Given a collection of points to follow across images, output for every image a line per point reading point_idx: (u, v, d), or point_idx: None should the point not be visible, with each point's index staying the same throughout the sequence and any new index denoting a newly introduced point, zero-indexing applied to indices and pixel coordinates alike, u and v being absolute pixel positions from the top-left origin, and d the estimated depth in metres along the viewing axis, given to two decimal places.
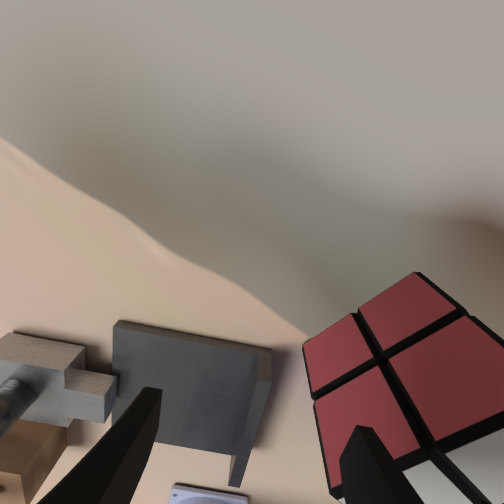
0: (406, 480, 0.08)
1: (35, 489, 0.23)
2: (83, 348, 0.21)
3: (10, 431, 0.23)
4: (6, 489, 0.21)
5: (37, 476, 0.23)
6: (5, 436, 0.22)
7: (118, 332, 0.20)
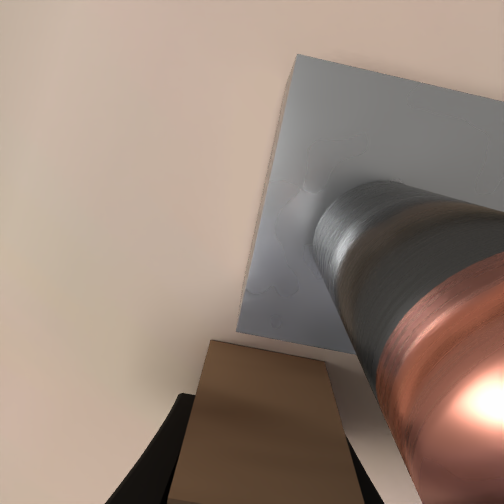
0: (364, 473, 0.08)
1: None
2: None
3: (243, 397, 0.08)
4: None
5: None
6: (239, 409, 0.08)
7: None
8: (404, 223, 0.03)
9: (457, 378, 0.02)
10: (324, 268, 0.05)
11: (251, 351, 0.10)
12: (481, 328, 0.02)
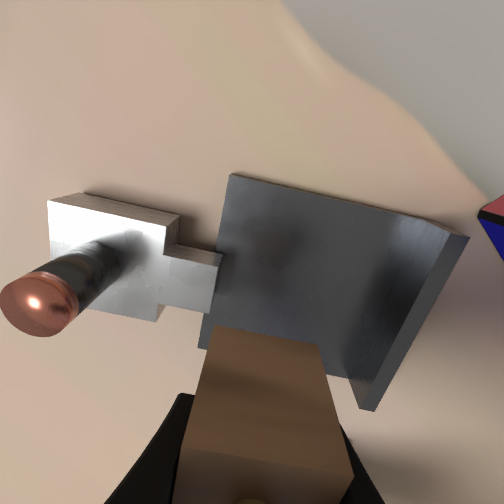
0: (365, 473, 0.08)
1: None
2: (178, 216, 0.16)
3: (244, 371, 0.09)
4: None
5: None
6: (241, 380, 0.09)
7: (235, 184, 0.15)
8: (46, 263, 0.12)
9: (1, 294, 0.11)
10: None
11: (251, 334, 0.11)
12: None
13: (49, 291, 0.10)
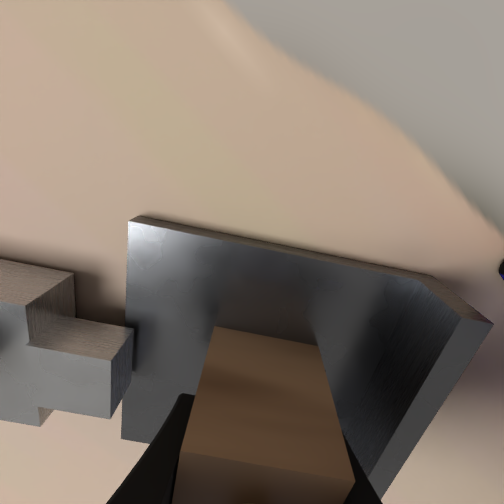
0: (362, 473, 0.08)
1: None
2: (70, 275, 0.11)
3: (244, 374, 0.09)
4: None
5: None
6: (241, 383, 0.09)
7: (139, 234, 0.10)
8: None
9: None
10: None
11: (251, 336, 0.11)
12: None
13: None
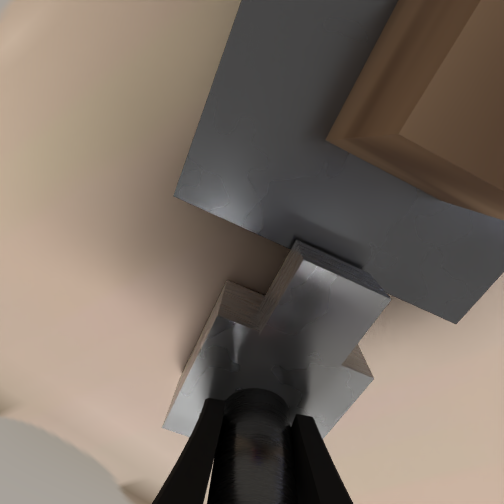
0: (332, 468, 0.08)
1: None
2: (227, 282, 0.11)
3: (380, 74, 0.06)
4: None
5: None
6: (386, 73, 0.06)
7: (189, 190, 0.09)
8: None
9: None
10: None
11: (355, 85, 0.08)
12: None
13: None
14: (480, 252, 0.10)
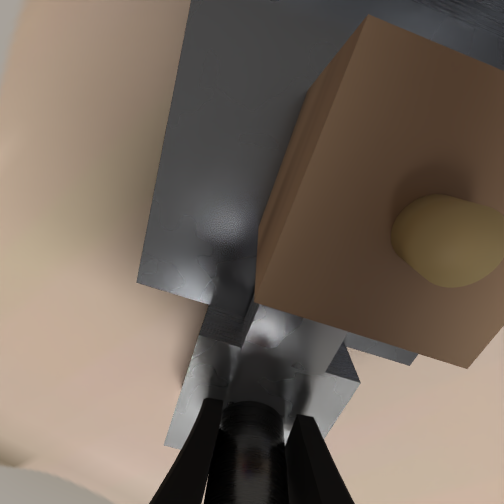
0: (333, 468, 0.08)
1: None
2: None
3: (275, 200, 0.07)
4: (462, 175, 0.04)
5: None
6: (274, 206, 0.07)
7: (148, 276, 0.11)
8: None
9: None
10: None
11: (274, 184, 0.09)
12: None
13: None
14: None
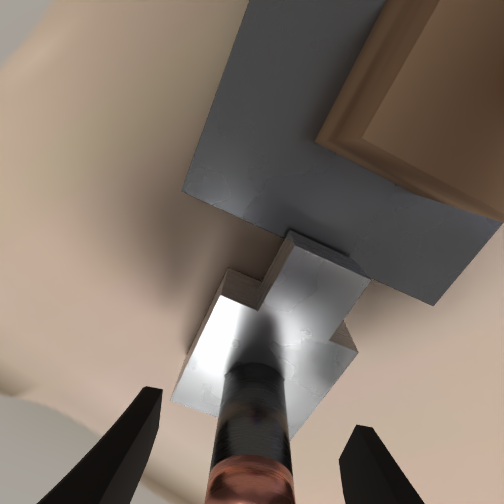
0: (407, 481, 0.08)
1: None
2: (228, 270, 0.12)
3: (356, 88, 0.07)
4: None
5: None
6: (359, 88, 0.07)
7: (195, 186, 0.11)
8: None
9: None
10: None
11: (339, 94, 0.09)
12: None
13: (226, 490, 0.07)
14: (452, 240, 0.11)
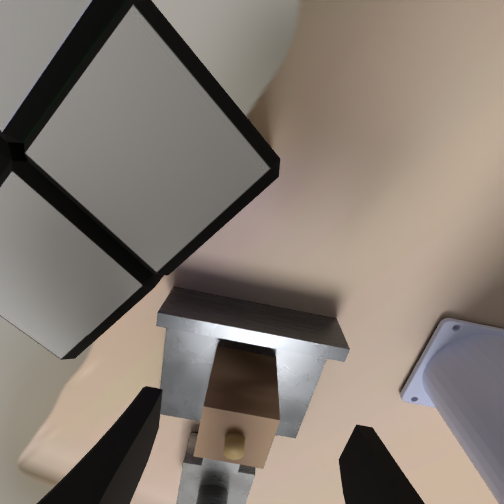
0: (406, 480, 0.08)
1: (270, 402, 0.17)
2: (190, 434, 0.24)
3: None
4: (237, 428, 0.16)
5: (251, 394, 0.17)
6: None
7: (163, 411, 0.23)
8: None
9: None
10: None
11: None
12: None
13: None
14: (289, 412, 0.22)
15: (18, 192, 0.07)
